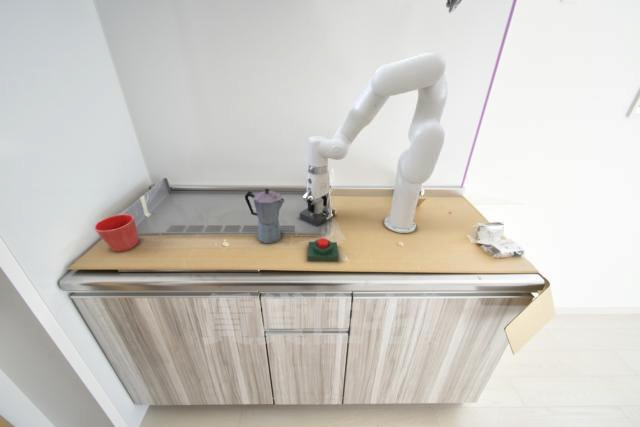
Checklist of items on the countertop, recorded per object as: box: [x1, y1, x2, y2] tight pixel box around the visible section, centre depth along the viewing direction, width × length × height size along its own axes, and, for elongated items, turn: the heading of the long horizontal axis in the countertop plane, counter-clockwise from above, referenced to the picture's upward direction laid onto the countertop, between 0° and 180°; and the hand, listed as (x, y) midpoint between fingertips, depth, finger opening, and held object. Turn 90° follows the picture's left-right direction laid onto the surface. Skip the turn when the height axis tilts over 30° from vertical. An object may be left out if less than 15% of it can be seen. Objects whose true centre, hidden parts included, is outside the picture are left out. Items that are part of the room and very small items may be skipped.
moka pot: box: [244, 188, 286, 244], centre depth 87 cm, size 10×15×20 cm, turn 78°
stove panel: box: [299, 205, 336, 227], centre depth 105 cm, size 12×10×3 cm
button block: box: [307, 239, 339, 263], centre depth 82 cm, size 10×8×4 cm
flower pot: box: [94, 213, 139, 252], centre depth 83 cm, size 11×11×10 cm
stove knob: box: [313, 197, 324, 214], centre depth 102 cm, size 5×5×6 cm
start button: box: [317, 237, 329, 248], centre depth 81 cm, size 4×4×2 cm
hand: (317, 208), depth 103 cm, fingers open, 7 cm apart
